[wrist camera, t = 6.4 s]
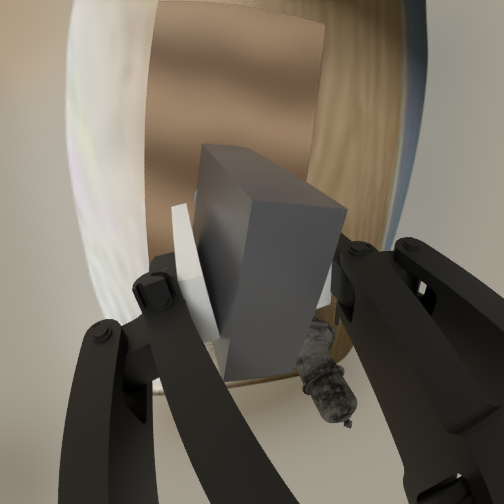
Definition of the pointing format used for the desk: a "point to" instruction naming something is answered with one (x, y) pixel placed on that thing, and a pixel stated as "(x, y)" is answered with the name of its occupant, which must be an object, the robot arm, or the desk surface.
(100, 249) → the desk surface
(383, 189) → the desk surface
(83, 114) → the desk surface
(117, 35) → the desk surface
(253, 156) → the grey block
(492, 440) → the robot arm
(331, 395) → the dark grey chess piece
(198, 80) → the board
